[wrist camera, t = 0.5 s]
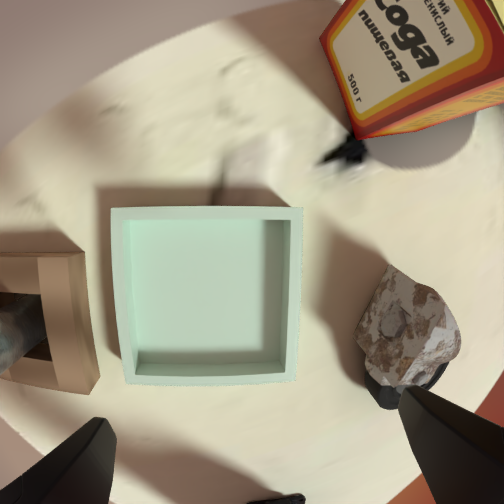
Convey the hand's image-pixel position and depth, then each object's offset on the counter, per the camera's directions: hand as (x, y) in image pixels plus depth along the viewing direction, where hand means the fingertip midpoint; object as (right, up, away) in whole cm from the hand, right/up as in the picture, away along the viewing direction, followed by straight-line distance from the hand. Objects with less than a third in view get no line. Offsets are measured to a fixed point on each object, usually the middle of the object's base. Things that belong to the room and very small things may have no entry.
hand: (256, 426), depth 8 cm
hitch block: (-17, 0, +12) cm, 21 cm away
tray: (-3, +2, +14) cm, 14 cm away
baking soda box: (+10, +19, +14) cm, 25 cm away
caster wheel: (+13, -3, +17) cm, 21 cm away
